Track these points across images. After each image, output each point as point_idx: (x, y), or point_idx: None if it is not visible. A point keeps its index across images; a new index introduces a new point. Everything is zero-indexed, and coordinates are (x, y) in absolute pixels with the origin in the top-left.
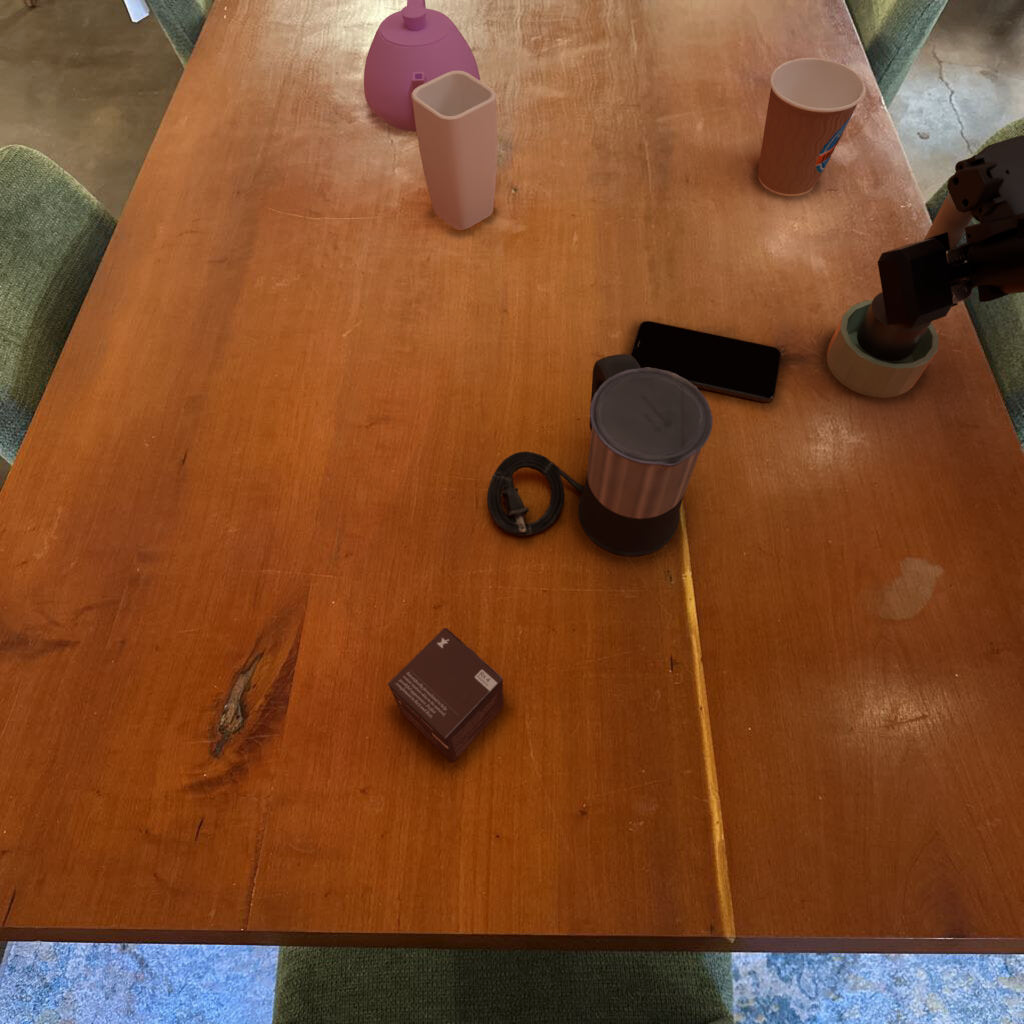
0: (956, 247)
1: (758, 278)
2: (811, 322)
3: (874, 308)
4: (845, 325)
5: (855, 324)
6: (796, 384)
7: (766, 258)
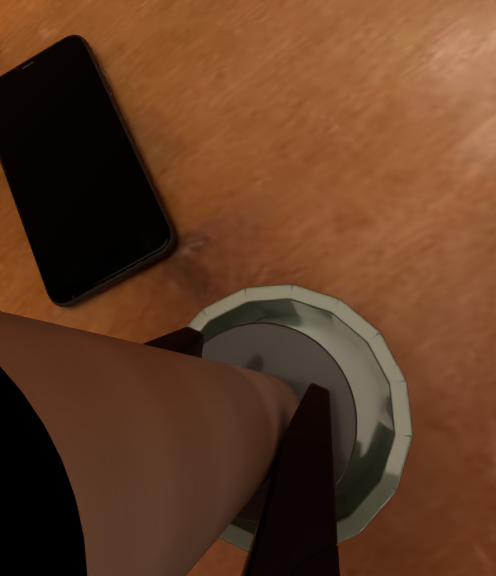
0: (253, 547)
1: (341, 89)
2: (307, 241)
3: (208, 347)
4: (220, 311)
5: (322, 319)
6: (137, 318)
7: (408, 60)
